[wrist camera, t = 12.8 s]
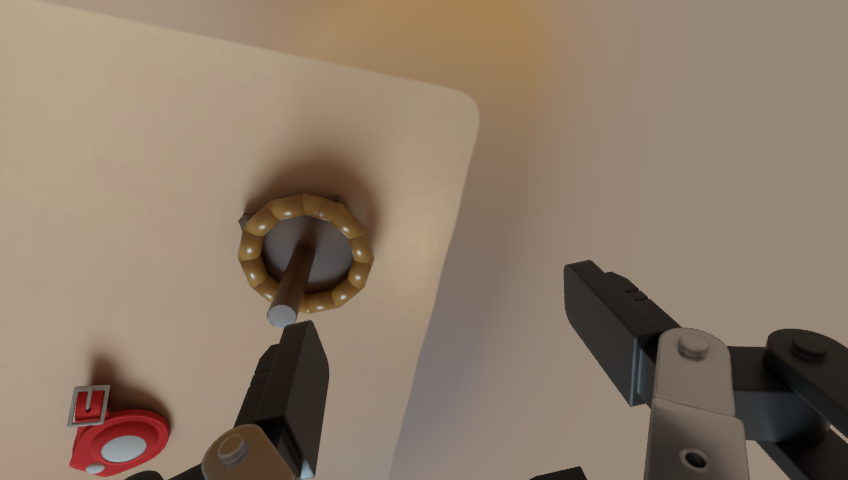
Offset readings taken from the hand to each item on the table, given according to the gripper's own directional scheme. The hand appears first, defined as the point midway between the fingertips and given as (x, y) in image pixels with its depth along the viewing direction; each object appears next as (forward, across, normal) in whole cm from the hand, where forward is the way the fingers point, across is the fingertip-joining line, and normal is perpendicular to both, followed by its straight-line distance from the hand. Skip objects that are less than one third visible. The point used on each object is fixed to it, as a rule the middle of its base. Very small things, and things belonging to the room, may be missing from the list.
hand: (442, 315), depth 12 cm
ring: (+23, +10, +8) cm, 26 cm away
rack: (+25, +11, +8) cm, 28 cm away
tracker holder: (+25, +36, +23) cm, 49 cm away
